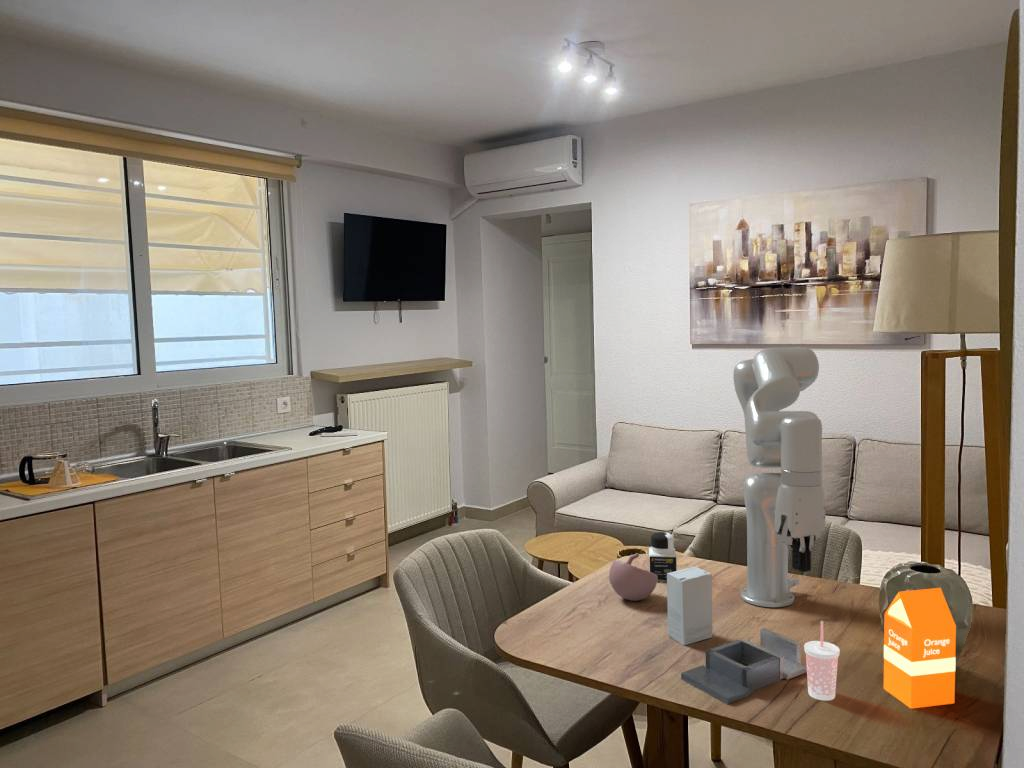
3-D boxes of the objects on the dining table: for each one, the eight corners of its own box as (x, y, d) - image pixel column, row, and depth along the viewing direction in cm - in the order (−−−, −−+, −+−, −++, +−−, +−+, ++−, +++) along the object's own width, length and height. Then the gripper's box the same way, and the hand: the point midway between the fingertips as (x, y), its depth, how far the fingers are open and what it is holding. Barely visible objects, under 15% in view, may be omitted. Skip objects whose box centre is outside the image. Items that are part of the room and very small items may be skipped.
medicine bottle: (649, 581, 202) (649, 537, 202) (649, 572, 210) (648, 530, 209) (676, 581, 201) (676, 538, 200) (675, 573, 208) (675, 530, 207)
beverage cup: (822, 705, 136) (822, 630, 134) (796, 690, 141) (796, 618, 140) (847, 698, 138) (847, 624, 137) (821, 683, 144) (821, 612, 142)
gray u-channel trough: (758, 650, 158) (758, 625, 158) (807, 671, 148) (807, 645, 148) (735, 658, 155) (735, 633, 154) (783, 681, 144) (783, 654, 144)
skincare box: (696, 629, 170) (695, 565, 169) (714, 638, 165) (713, 572, 164) (666, 636, 167) (665, 571, 166) (683, 646, 161) (682, 579, 160)
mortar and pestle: (667, 599, 189) (667, 554, 188) (636, 611, 181) (635, 565, 181) (631, 587, 198) (630, 544, 197) (599, 598, 191) (599, 554, 190)
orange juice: (955, 703, 135) (957, 595, 133) (911, 709, 134) (912, 599, 132) (924, 683, 143) (926, 580, 141) (882, 688, 141) (883, 584, 140)
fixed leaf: (734, 659, 155) (734, 638, 154) (782, 682, 144) (782, 660, 144) (681, 678, 147) (680, 656, 147) (727, 704, 137) (727, 680, 136)
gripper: (810, 471, 156) (810, 558, 157) (760, 480, 148) (760, 571, 149) (842, 476, 149) (842, 567, 150) (791, 486, 142) (792, 581, 143)
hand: (801, 569), depth 150 cm, fingers closed
